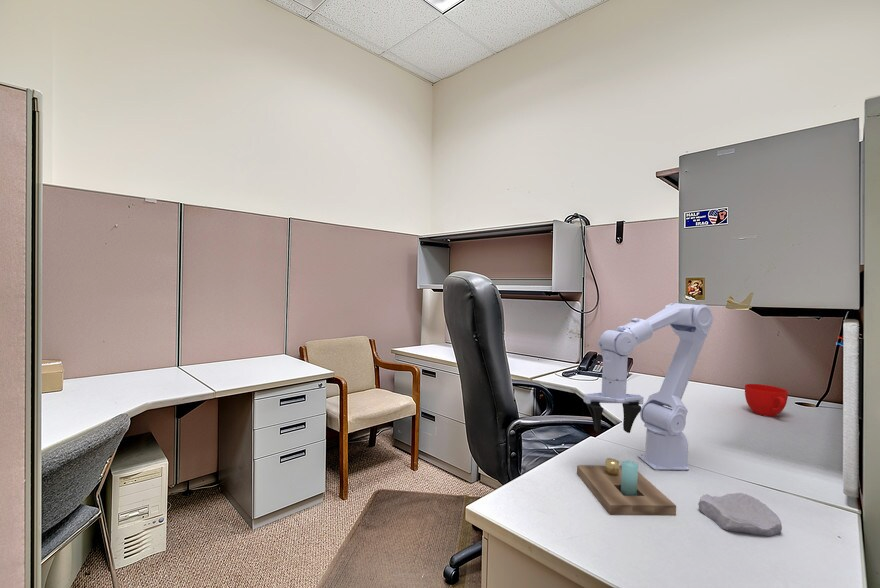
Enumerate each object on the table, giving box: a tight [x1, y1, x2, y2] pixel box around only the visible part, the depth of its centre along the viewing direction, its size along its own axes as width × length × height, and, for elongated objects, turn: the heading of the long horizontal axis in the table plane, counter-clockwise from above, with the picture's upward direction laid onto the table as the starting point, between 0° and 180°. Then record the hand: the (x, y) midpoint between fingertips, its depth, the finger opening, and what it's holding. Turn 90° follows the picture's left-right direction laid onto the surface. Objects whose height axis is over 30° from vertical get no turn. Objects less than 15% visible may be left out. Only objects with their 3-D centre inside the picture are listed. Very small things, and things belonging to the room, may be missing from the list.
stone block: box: [698, 492, 783, 537], centre depth 82 cm, size 12×5×10 cm
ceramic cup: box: [744, 383, 789, 418], centre depth 153 cm, size 13×17×10 cm
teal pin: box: [621, 460, 639, 496], centre depth 89 cm, size 3×3×8 cm
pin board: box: [576, 457, 677, 516], centre depth 93 cm, size 14×18×5 cm
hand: (611, 431), depth 102 cm, fingers open, 7 cm apart
